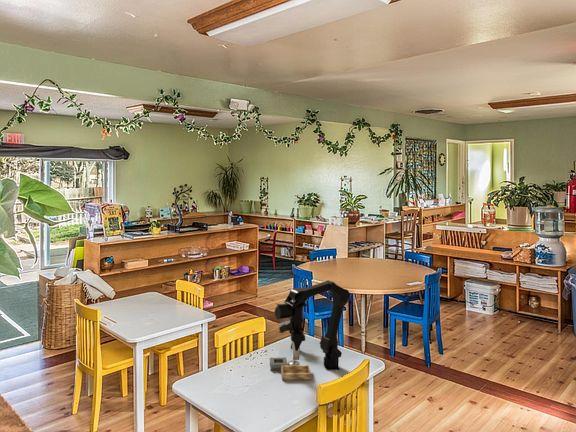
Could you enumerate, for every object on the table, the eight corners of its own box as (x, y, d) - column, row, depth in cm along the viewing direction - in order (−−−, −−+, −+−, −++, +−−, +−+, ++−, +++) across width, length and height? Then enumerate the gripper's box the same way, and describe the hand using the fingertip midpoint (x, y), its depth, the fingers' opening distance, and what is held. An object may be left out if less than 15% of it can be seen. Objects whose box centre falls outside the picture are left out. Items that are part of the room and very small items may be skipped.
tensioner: (298, 363, 220) (298, 357, 220) (300, 370, 212) (300, 364, 212) (269, 363, 219) (269, 357, 219) (270, 370, 211) (270, 364, 211)
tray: (308, 371, 211) (308, 365, 211) (311, 380, 202) (311, 373, 202) (280, 371, 210) (281, 365, 210) (282, 380, 201) (282, 374, 201)
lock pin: (299, 356, 208) (300, 336, 207) (300, 360, 204) (300, 339, 203) (291, 356, 207) (291, 336, 206) (291, 360, 203) (292, 339, 202)
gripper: (278, 310, 212) (277, 341, 214) (280, 323, 194) (279, 357, 195) (301, 310, 213) (300, 341, 215) (305, 322, 195) (304, 357, 196)
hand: (296, 349), depth 205 cm, fingers closed on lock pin, 3 cm apart
